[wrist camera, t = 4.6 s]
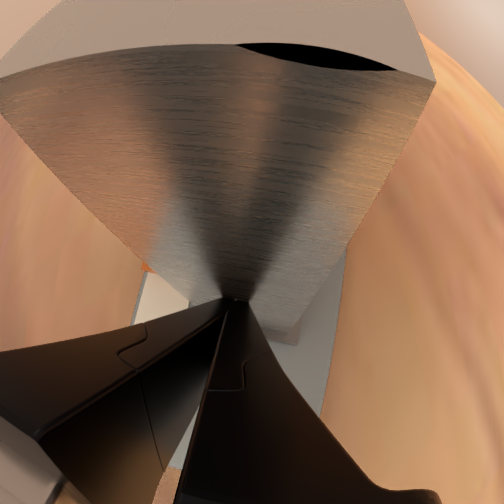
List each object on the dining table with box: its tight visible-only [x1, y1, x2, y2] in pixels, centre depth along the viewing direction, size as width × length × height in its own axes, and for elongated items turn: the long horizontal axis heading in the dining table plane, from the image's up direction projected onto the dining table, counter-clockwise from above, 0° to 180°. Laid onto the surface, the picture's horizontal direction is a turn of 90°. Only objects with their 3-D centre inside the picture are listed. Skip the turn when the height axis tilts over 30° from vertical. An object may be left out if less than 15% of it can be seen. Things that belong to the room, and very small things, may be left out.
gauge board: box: [130, 246, 347, 470], centre depth 15 cm, size 19×11×4 cm, turn 168°
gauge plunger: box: [0, 0, 436, 346], centre depth 10 cm, size 5×9×15 cm, turn 79°
